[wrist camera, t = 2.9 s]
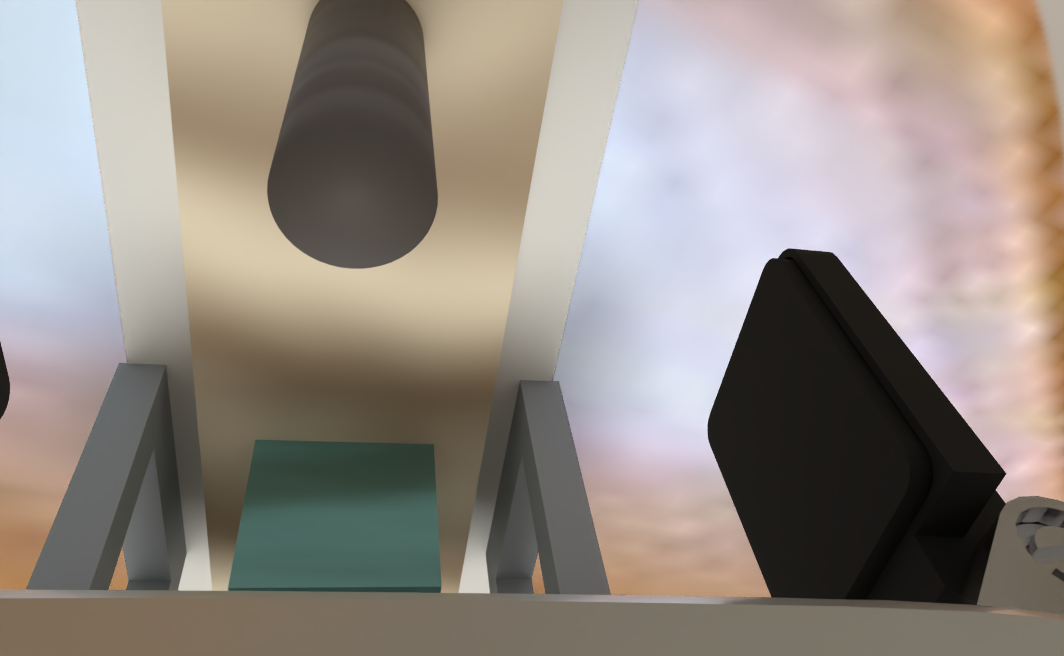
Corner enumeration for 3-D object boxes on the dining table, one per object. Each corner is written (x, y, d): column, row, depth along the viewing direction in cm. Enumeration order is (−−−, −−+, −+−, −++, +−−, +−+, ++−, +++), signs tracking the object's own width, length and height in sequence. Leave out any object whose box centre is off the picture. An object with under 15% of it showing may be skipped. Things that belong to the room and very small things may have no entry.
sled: (164, -102, 17) (22, 22, 10) (561, -44, 18) (652, 94, 12) (218, 580, 29) (168, 833, 22) (454, 579, 30) (471, 814, 24)
